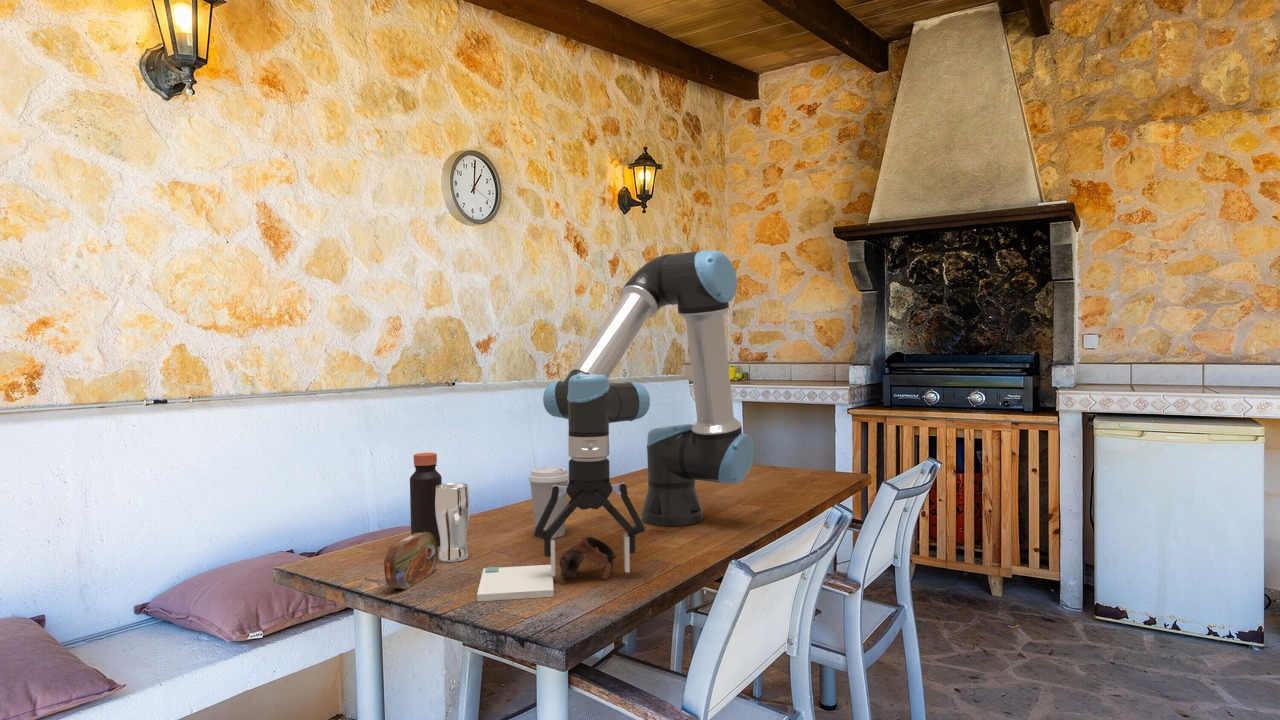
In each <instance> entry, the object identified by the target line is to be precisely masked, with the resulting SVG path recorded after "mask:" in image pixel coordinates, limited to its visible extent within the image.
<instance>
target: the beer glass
mask: <svg viewBox="0 0 1280 720" xmlns="http://www.w3.org/2000/svg"><path fill="white" fill-rule="evenodd" d="M435 488H436V490H435V516H436V522H437V527H438V532H439V537H440V545H439V550H438V556H437V561H439V562H441V561H442V563H457V562H463V561H465V560H467V559H468V558H469V556H470V555H469V550H468V547H467V532H468V528H469V521H470V511H471V509H470V508H471V506H470V504H471V502H470V491H469V484H468V483H464V482H463V483H462V482H449V483H448V482H446V483H442V484H441V485H437V486H436V487H435Z"/></svg>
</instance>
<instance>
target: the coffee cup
mask: <svg viewBox="0 0 1280 720" xmlns="http://www.w3.org/2000/svg"><path fill="white" fill-rule="evenodd" d="M567 471H568V470H567V468H565V467H562V466H545V467H536V468H533V469H531V471H530V474H528V478H527V480H528V482H529V483H530V493H531V500H532V501H531V502H532V509H533V510H532V511H533V519H534V529H535V528H536V526H537V524H538V522H539V520H540V518H541V515H542V513H543V511H544V509H545V507H546V505H547V503H548V501H549V499H550V497H551V493H552V486H553V485H554V484H557V485H558V486H567V485H568V483H569V472H567ZM567 499H568V494H567V493H564V494H563V495H562V497H561V498H558V500H557V503H556V505H555V507H554V509H553V511H552V513H551V515H550V517H549V519H548V521H547V523H546V525H545V527H544V529H543V530H547V529H548V527H549V526H550V525H551V524H552V523H553V521H554V520H555V519H556V518H557V517H558V515H559V514H560V513H561V512H562V510H563V509H564V508H565V507H566V505H567ZM565 531H566V521H565V522H564V523H563V524H562V525H561V526H560V528H559V529H558V530H557V531H556V532H555V534H554V535H553V536H552V537H555V539H557V537H558V538H561V536H562V537H563V536H565V533H566V532H565ZM538 538H539V539H541V538H540V537H538Z"/></svg>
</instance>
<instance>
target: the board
mask: <svg viewBox="0 0 1280 720" xmlns="http://www.w3.org/2000/svg"><path fill="white" fill-rule="evenodd" d="M554 591H555V590H554V576H551V564H542V565H540V564H539V565H522V566H505V567H504V566H503V567H499V566H491V567H484V568H483V569H482V572H481V578H480V581H479V585H478V589H477V593H476V602H491V601H492V602H494V601H507V600H508V601H509V600H522V599H525V600H526V599H538V598H540V599H541V598H542V599H544V598H554V597H555V596H554V595H555V593H554Z"/></svg>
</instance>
